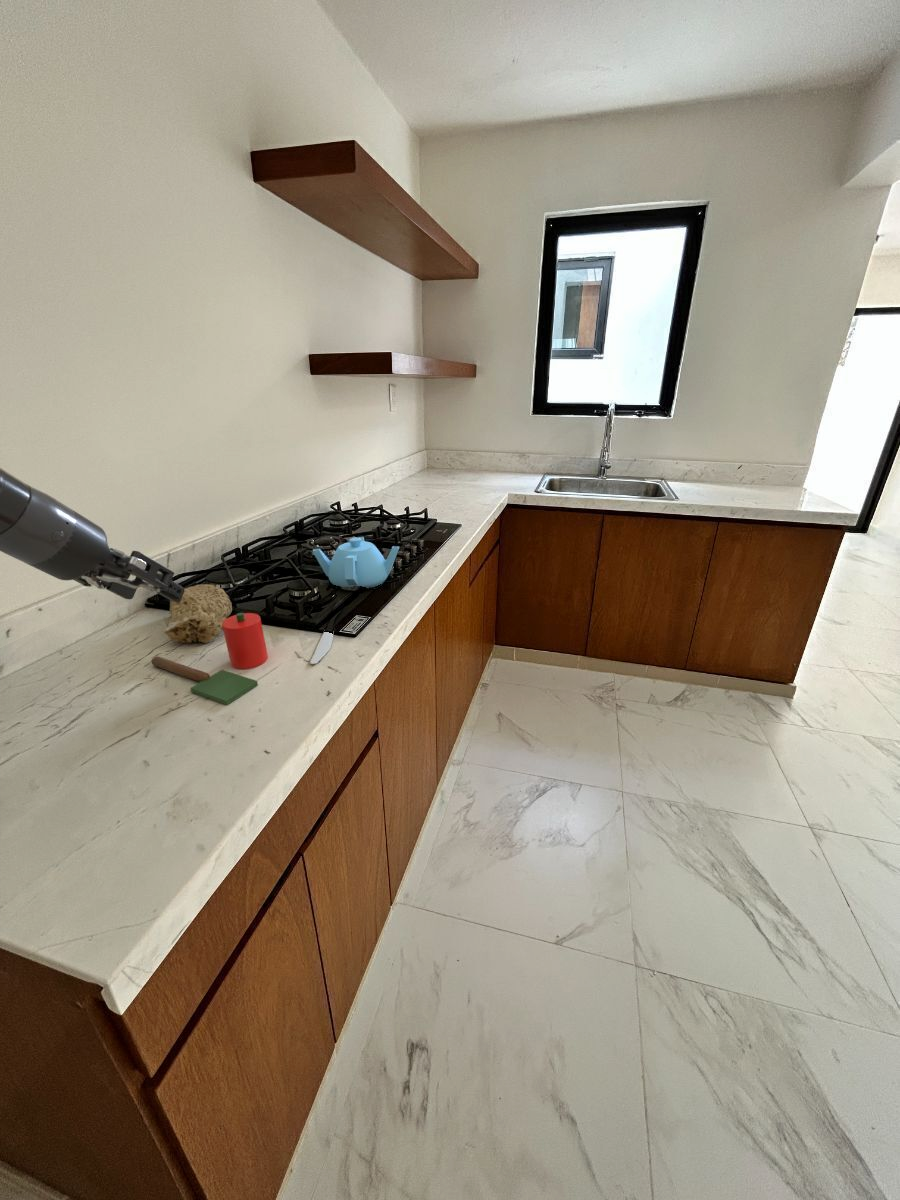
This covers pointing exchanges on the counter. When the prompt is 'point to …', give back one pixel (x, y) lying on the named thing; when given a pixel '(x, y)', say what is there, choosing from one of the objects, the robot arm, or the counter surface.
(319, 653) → the butter knife
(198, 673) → the spatula
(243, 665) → the pepper
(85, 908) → the counter surface
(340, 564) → the teapot
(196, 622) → the sponge
